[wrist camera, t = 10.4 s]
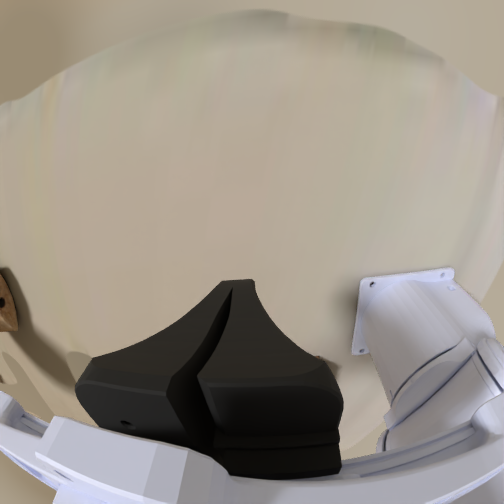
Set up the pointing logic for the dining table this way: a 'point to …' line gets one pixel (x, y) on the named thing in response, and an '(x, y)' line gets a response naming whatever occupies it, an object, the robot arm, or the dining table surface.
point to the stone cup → (7, 309)
